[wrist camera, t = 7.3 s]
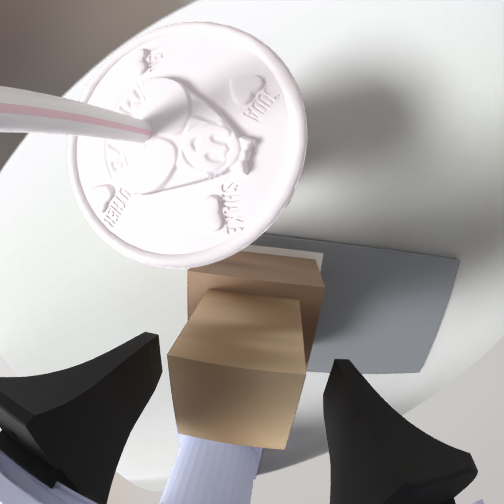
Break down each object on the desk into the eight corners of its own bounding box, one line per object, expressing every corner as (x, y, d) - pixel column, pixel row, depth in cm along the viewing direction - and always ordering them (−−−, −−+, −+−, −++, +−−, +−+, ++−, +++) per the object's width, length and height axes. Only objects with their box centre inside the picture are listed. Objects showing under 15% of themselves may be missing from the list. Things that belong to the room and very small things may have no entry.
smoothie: (197, 94, 14) (2, -35, 1) (307, 119, 14) (402, -88, 1) (169, 198, 16) (-65, 281, 3) (275, 228, 16) (233, 471, 2)
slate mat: (417, 369, 17) (419, 372, 17) (203, 354, 19) (201, 358, 18) (456, 258, 15) (460, 261, 14) (206, 228, 16) (203, 229, 16)
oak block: (299, 299, 12) (306, 374, 7) (286, 369, 13) (284, 449, 8) (208, 288, 12) (166, 354, 8) (207, 359, 13) (177, 433, 9)
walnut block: (299, 347, 17) (301, 389, 13) (207, 336, 18) (189, 374, 14) (315, 259, 16) (325, 287, 12) (209, 247, 16) (187, 270, 12)
